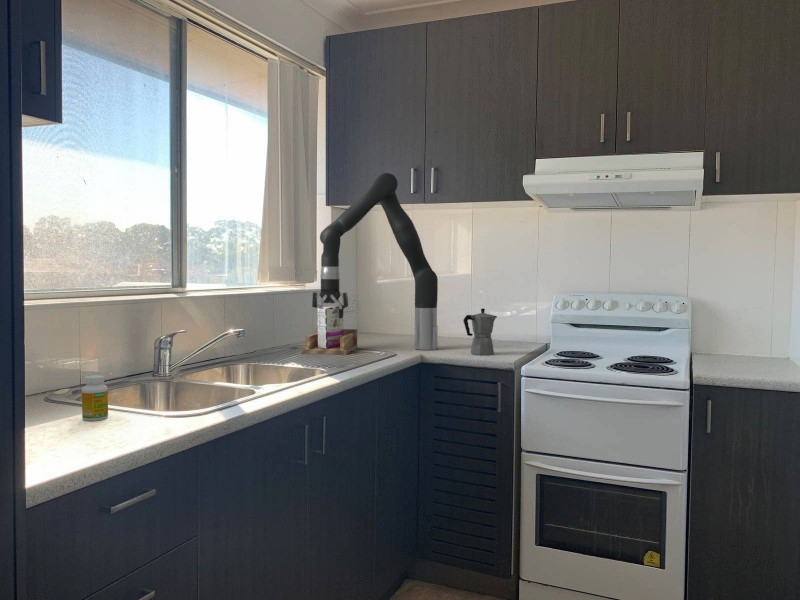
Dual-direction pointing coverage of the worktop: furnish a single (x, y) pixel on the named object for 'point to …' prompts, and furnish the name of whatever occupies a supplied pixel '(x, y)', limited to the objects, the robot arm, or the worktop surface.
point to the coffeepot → (481, 332)
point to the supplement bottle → (94, 399)
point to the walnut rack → (346, 346)
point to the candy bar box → (329, 327)
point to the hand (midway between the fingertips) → (330, 318)
